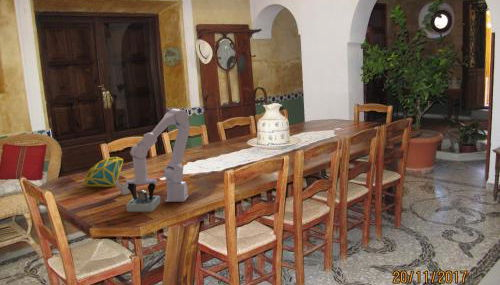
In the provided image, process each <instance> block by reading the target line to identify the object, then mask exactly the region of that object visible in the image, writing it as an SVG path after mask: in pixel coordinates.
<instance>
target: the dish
mask: <svg viewBox="0 0 500 285" xmlns="http://www.w3.org/2000/svg"><path fill="white" fill-rule="evenodd" d="M147 199H148V204H139V198H138V195H137V199H136V200H134V198H133V197H132V199H131V200H130V201H129V202H127V203H126V204H125V205H126V212H128V213H131V212H132V213H134V212H135V213H141V212H142V213H143V212H144V213H149V212H150V213H152V212H154V211H155V210H156V208H158V206H159V205H160V204H161V196H160V195H153V199H152V200H150V198H149V195H147Z"/></svg>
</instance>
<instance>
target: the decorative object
mask: <svg viewBox="0 0 500 285" xmlns="http://www.w3.org/2000/svg"><path fill="white" fill-rule="evenodd" d="M123 164H124V158H121V157H119V156H113V157H106V158H104V159H102V160H100V161H99V162H97V163H96V164H94V165H93V166H92V167H90V168H89V170H88V171H87V173H86V175H85V176H84V186H86V187H94V188H113V187H116V186H117V185H116V184H115V182H116V181H119V178H120V175H121V172H122V171H121V170H122V169H123Z"/></svg>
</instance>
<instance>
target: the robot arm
mask: <svg viewBox="0 0 500 285" xmlns="http://www.w3.org/2000/svg"><path fill="white" fill-rule="evenodd" d="M189 118H190V115H189V114H188V112H187V111H186V110H184V109H179V108H175V107H174V108H170V109H169V110H168V111H167V112H165V114H164V116H163V118H162V119H161V120H160V121H159V123H158V124H157V125H156V126H155V127H154V128H153V130H152V131H151V132H146V133H144V134H143V137H142V138H141V139H140V140H139V141H138V142H136V144H135V145H133V146H132V147H131V149H130V151H129V154H130V156H131V157H132V164H133V173H134V179H125V184H126V185H128V189H129V193H131V195H132V199H133V198H134V200H136V199H137V196H138V193H137V185H147V188H148V196H149V198H150V200H152V199H153V196H154V192H155V188H156V186H157V184H158V179H155V178H154V179H153V178H148V169H147V159H146V157H147V156H148V152H149V151H150V149H152V147H153V146H154V145H155V144H156V143H157V141H158V137H159V136H160V135H161V134H162V132H164V131H165V130H166V129H167V128H168V127H169V126H171V125H172V126H173V125H175V127H176V128H177V131H176V137H175V141H174V145H173V148H172V153H171V158H170V161H169V162H168V163H167V165H166V167H165V169H164V170H163V177H164V178H165V179H166V193H167V198H166V200H164V201H165V203H166V202H169V203H170V202H172V203H173V202H174V203H176V202H178V203H179V202H182V203H183V202H186V200H187V198H189V193H188V184H187V181H183V179H184V166H183V164H182V163H183V159H184V154H185V151H186V146H187V143H188V139H189V134H190V132H191V124H190V121H189Z"/></svg>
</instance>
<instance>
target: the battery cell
mask: <svg viewBox="0 0 500 285" xmlns="http://www.w3.org/2000/svg"><path fill="white" fill-rule="evenodd" d="M137 196H138V198H139V204H148V199H147V196H148V191H147V190H144V189H141V190H138V192H137Z"/></svg>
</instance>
